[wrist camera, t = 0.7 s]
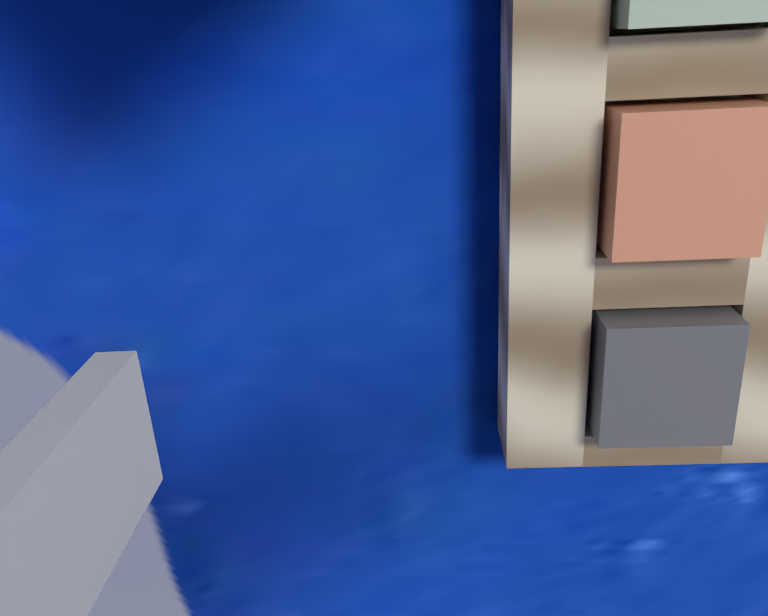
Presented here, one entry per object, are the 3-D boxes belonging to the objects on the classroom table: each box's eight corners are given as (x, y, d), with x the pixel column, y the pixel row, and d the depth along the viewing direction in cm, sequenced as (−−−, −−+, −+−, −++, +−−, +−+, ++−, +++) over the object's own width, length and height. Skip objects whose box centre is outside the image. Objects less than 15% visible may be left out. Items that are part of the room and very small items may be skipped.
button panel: (502, -184, 29) (517, -216, 25) (866, -209, 28) (941, -246, 24) (497, 425, 39) (507, 471, 35) (761, 418, 38) (802, 465, 35)
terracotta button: (602, 104, 30) (622, 113, 28) (749, 97, 30) (783, 105, 27) (594, 241, 33) (611, 262, 30) (730, 236, 32) (760, 257, 30)
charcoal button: (590, 303, 34) (607, 329, 31) (722, 298, 33) (750, 324, 31) (584, 415, 36) (598, 448, 33) (707, 411, 36) (732, 445, 33)
